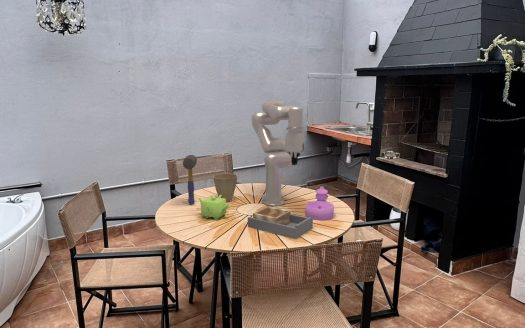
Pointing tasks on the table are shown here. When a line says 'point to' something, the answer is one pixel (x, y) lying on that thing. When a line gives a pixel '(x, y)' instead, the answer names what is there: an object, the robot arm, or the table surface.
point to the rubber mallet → (190, 176)
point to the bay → (284, 226)
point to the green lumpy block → (213, 207)
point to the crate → (273, 215)
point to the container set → (320, 207)
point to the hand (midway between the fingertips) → (294, 164)
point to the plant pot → (225, 185)
